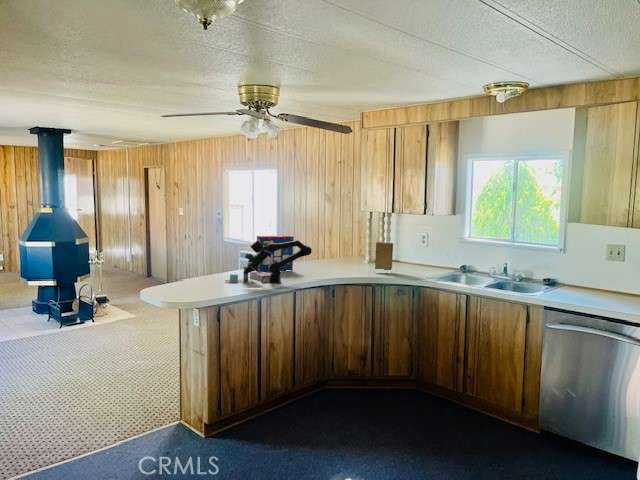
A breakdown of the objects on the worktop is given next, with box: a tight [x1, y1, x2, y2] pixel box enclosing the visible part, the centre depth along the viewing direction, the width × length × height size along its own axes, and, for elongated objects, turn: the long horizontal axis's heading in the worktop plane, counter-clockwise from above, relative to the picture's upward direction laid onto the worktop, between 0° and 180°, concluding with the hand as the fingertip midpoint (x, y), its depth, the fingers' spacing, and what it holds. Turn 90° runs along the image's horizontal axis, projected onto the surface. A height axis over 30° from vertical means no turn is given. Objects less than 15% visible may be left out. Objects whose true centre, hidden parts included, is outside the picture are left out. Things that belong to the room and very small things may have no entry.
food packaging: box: [374, 241, 394, 270], centre depth 390 cm, size 13×9×25 cm
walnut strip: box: [224, 265, 254, 284], centre depth 324 cm, size 19×12×11 cm, turn 102°
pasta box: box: [256, 235, 295, 273], centre depth 378 cm, size 28×8×28 cm, turn 121°
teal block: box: [229, 272, 239, 282], centre depth 324 cm, size 5×5×5 cm
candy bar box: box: [249, 271, 272, 283], centre depth 338 cm, size 11×5×16 cm
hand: (243, 273), depth 325 cm, fingers closed on walnut strip, 3 cm apart
